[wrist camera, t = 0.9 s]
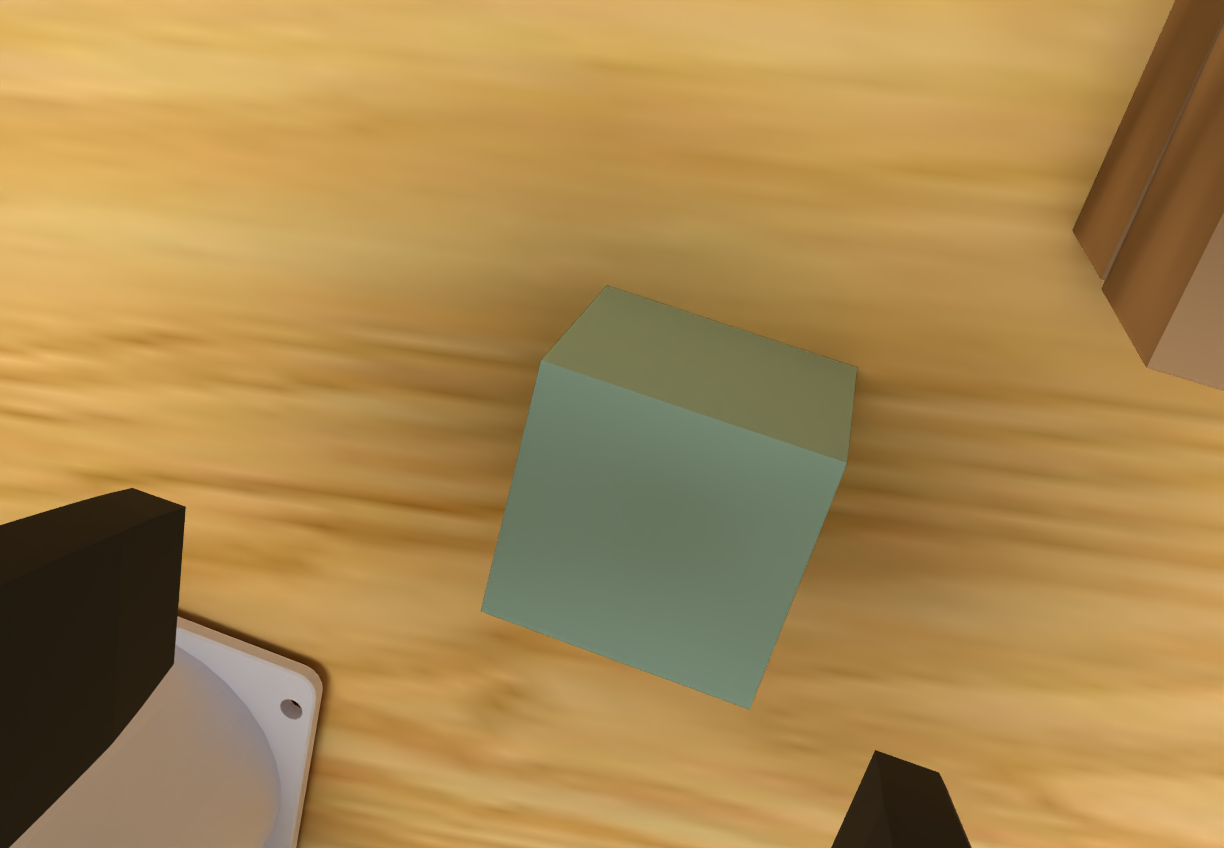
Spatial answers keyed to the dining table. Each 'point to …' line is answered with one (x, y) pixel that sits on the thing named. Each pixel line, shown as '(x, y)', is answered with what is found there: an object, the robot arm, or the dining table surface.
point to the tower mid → (1180, 245)
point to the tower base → (1147, 128)
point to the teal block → (670, 492)
